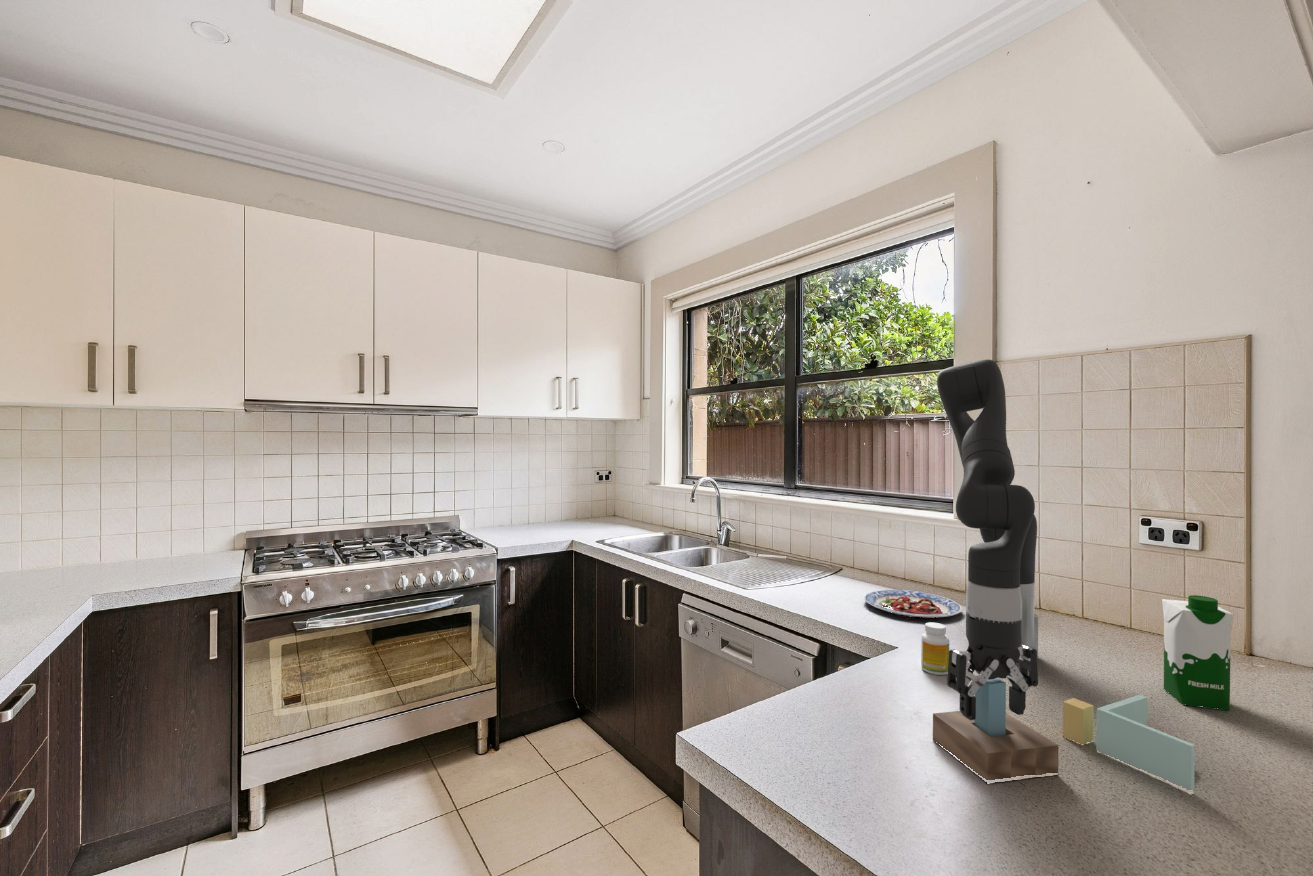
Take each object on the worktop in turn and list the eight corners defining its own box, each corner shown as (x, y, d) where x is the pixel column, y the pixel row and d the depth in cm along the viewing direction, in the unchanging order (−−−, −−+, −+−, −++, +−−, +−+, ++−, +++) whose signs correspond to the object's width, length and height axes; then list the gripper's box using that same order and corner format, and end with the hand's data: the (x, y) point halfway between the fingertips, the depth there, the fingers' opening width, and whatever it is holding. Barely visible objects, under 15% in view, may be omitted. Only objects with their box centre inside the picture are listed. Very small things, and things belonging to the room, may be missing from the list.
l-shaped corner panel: (1190, 799, 81) (1191, 746, 81) (1096, 755, 92) (1096, 708, 91) (1233, 778, 85) (1234, 728, 85) (1139, 739, 96) (1139, 694, 96)
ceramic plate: (965, 605, 170) (965, 595, 170) (957, 630, 148) (957, 619, 148) (874, 592, 184) (874, 583, 184) (854, 613, 162) (854, 603, 162)
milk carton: (1179, 706, 107) (1180, 599, 107) (1155, 686, 115) (1156, 587, 115) (1239, 714, 104) (1240, 604, 104) (1210, 693, 112) (1211, 591, 112)
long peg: (990, 749, 92) (991, 674, 92) (1005, 759, 89) (1005, 682, 89) (974, 751, 92) (974, 676, 92) (988, 761, 89) (989, 684, 89)
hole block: (996, 733, 97) (996, 707, 97) (1058, 775, 85) (1058, 745, 85) (932, 740, 95) (932, 713, 95) (987, 784, 83) (987, 753, 83)
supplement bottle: (952, 676, 120) (953, 630, 120) (924, 674, 121) (925, 628, 121) (945, 666, 125) (945, 622, 125) (918, 664, 126) (918, 620, 126)
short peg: (1073, 733, 97) (1073, 698, 97) (1093, 741, 95) (1093, 705, 94) (1062, 737, 96) (1063, 701, 96) (1082, 746, 93) (1082, 709, 93)
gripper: (1013, 602, 95) (1012, 700, 95) (936, 607, 92) (935, 707, 92) (1052, 616, 87) (1052, 723, 88) (970, 622, 85) (969, 731, 85)
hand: (992, 715), depth 90 cm, fingers open, 8 cm apart
